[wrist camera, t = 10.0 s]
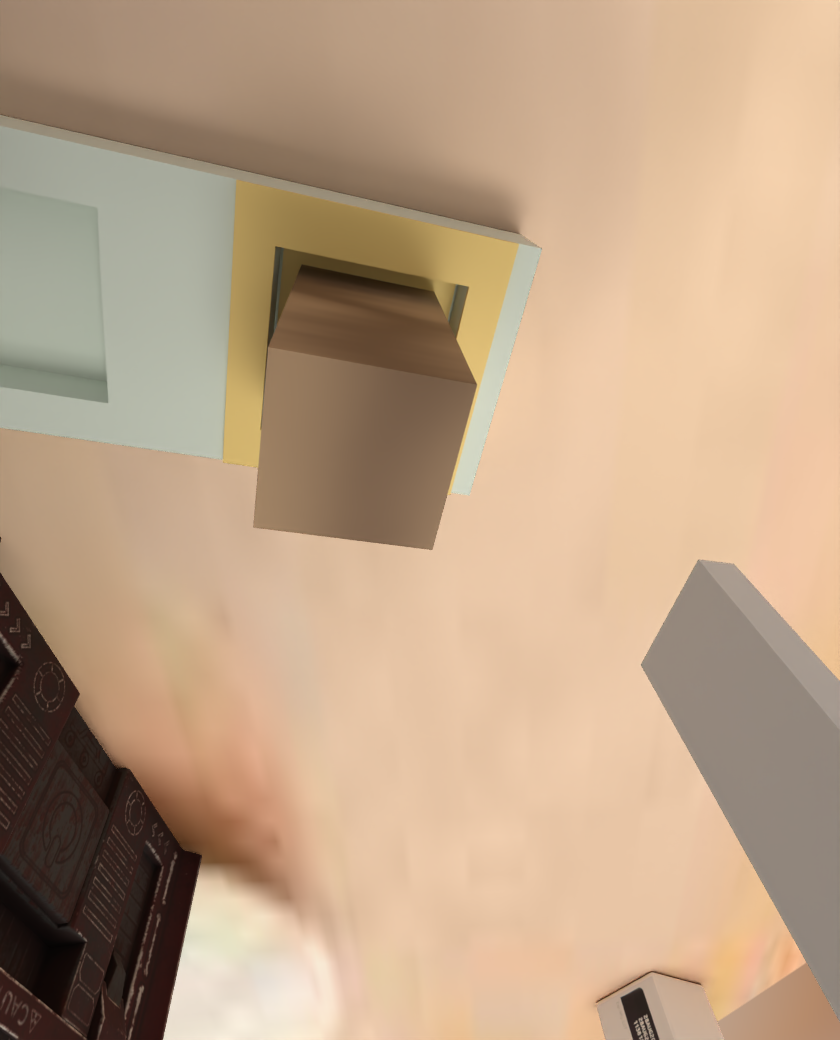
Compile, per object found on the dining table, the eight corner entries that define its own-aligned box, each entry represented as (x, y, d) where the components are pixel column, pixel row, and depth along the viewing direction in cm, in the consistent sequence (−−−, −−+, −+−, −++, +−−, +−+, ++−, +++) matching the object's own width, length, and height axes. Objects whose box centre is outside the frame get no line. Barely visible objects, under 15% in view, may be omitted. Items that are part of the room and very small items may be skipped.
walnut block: (288, 392, 22) (253, 527, 15) (301, 264, 20) (267, 347, 13) (407, 412, 23) (432, 549, 16) (434, 291, 21) (477, 384, 13)
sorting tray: (-471, 316, 20) (-597, 345, 18) (-663, -38, 16) (-875, -72, 13) (458, 459, 26) (470, 498, 23) (520, 234, 21) (543, 249, 19)
